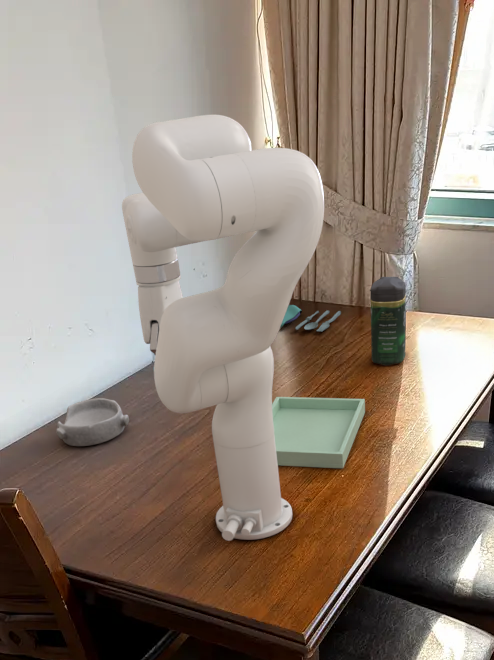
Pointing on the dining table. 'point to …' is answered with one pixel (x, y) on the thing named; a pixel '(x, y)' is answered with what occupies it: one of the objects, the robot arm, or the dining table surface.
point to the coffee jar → (388, 320)
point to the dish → (92, 422)
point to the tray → (315, 430)
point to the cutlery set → (294, 312)
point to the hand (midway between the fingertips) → (175, 373)
